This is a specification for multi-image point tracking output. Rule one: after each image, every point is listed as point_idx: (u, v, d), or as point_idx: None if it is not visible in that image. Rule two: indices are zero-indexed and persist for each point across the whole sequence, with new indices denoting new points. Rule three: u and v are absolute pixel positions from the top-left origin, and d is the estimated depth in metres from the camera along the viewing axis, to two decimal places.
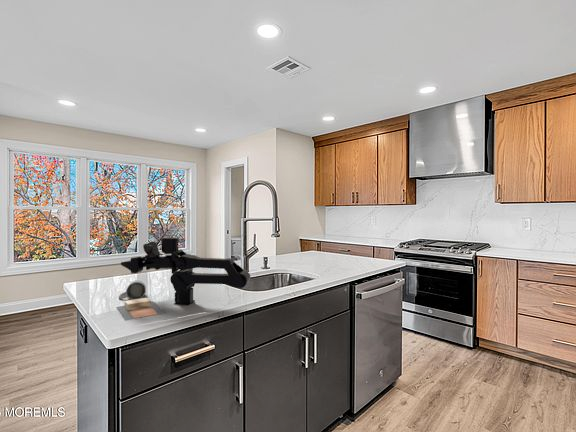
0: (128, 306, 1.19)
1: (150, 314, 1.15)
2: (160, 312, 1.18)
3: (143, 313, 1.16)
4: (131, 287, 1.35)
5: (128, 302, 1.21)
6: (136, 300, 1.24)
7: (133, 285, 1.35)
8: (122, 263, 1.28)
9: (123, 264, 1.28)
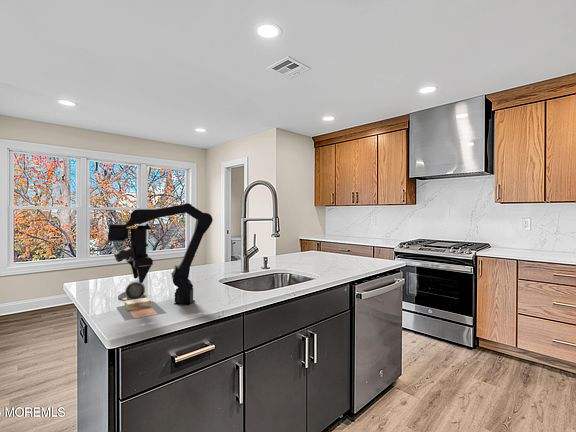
0: (128, 306, 1.19)
1: (150, 314, 1.15)
2: (160, 312, 1.18)
3: (143, 313, 1.16)
4: (130, 287, 1.34)
5: (128, 302, 1.21)
6: (136, 300, 1.24)
7: (132, 285, 1.35)
8: (140, 280, 1.19)
9: (142, 279, 1.19)
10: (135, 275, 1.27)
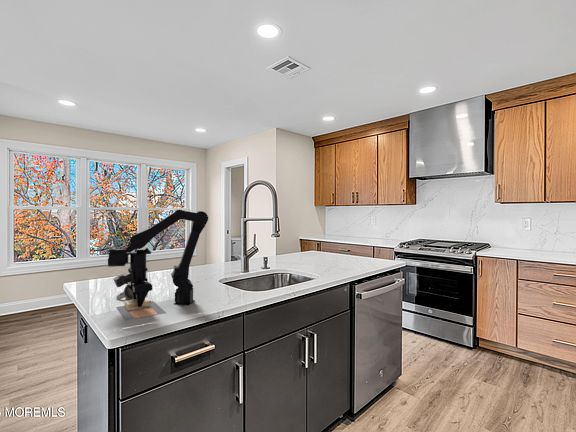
0: (128, 306, 1.19)
1: (150, 314, 1.15)
2: (160, 312, 1.18)
3: (143, 313, 1.16)
4: None
5: (128, 302, 1.21)
6: (136, 300, 1.24)
7: None
8: (139, 304, 1.21)
9: (140, 303, 1.21)
10: None
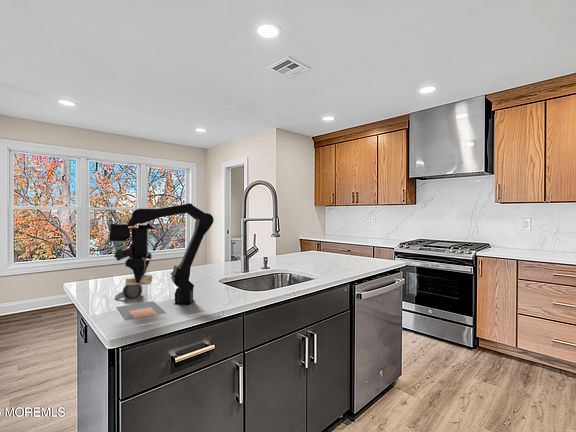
0: (126, 281, 1.18)
1: (150, 314, 1.15)
2: (160, 312, 1.18)
3: (143, 313, 1.16)
4: (127, 287, 1.34)
5: (129, 277, 1.20)
6: None
7: (129, 285, 1.34)
8: (137, 280, 1.18)
9: (138, 279, 1.18)
10: None
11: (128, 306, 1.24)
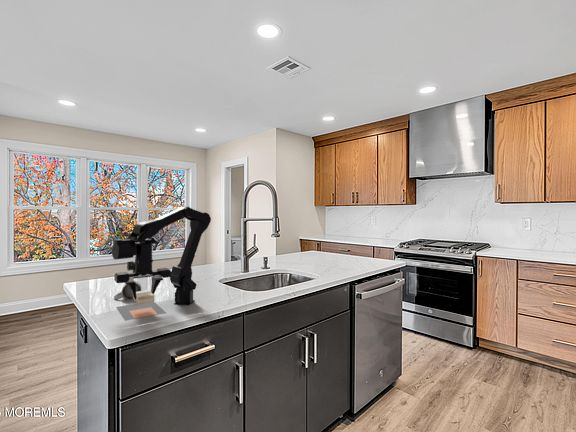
0: None
1: (150, 314, 1.15)
2: (160, 312, 1.18)
3: (143, 313, 1.16)
4: (127, 287, 1.34)
5: (140, 291, 1.19)
6: (145, 293, 1.18)
7: None
8: (133, 296, 1.15)
9: (133, 295, 1.15)
10: None
11: (128, 306, 1.24)
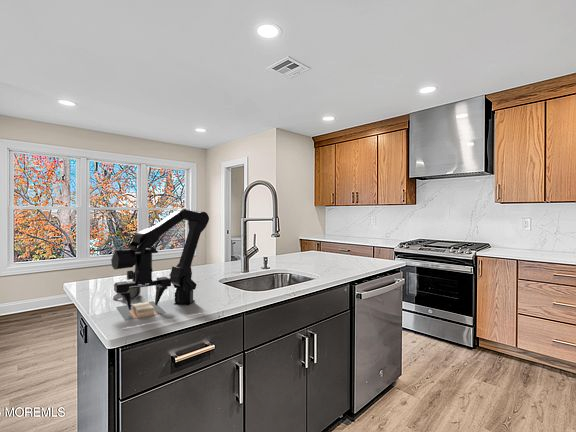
0: None
1: None
2: (160, 312, 1.18)
3: None
4: None
5: (139, 303, 1.19)
6: (144, 305, 1.18)
7: None
8: (128, 307, 1.14)
9: (128, 305, 1.14)
10: (155, 302, 1.20)
11: None
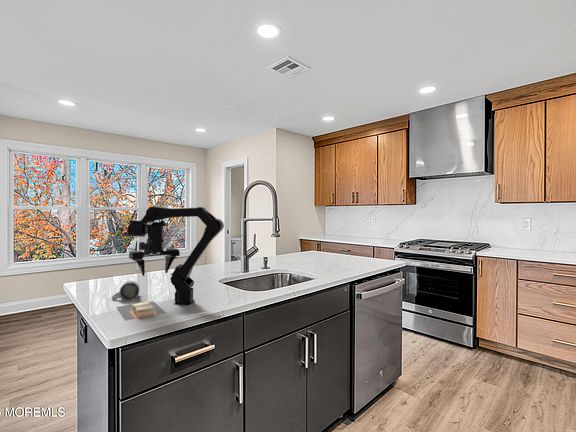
0: None
1: None
2: (160, 312, 1.18)
3: None
4: (124, 287, 1.34)
5: (139, 303, 1.19)
6: (144, 305, 1.18)
7: (126, 285, 1.34)
8: (142, 273, 1.27)
9: (141, 272, 1.26)
10: (165, 270, 1.33)
11: (128, 306, 1.24)
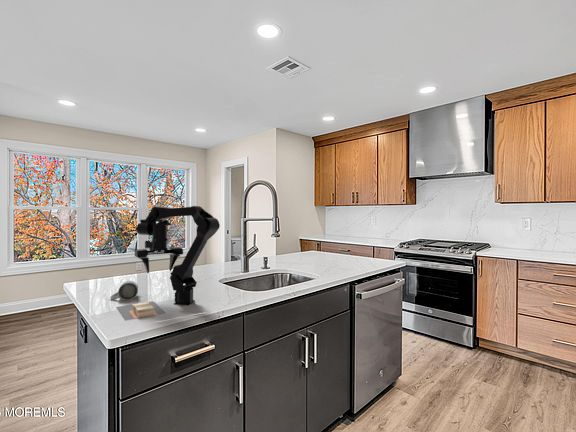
0: None
1: None
2: (160, 312, 1.18)
3: None
4: (123, 287, 1.34)
5: (139, 303, 1.19)
6: (144, 305, 1.18)
7: (125, 285, 1.34)
8: None
9: (146, 269, 1.31)
10: (169, 268, 1.38)
11: (128, 306, 1.24)
